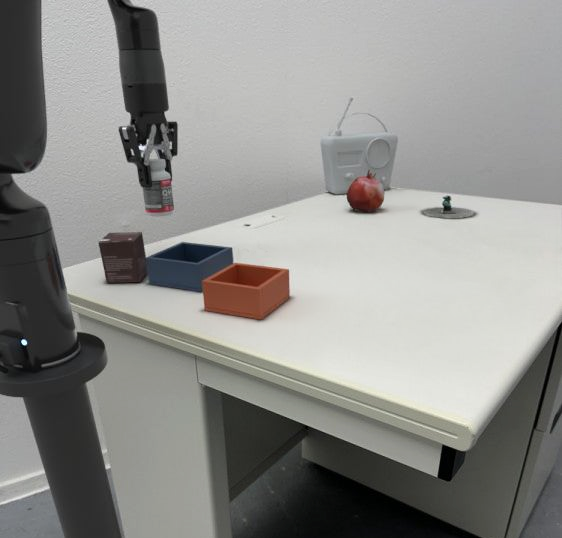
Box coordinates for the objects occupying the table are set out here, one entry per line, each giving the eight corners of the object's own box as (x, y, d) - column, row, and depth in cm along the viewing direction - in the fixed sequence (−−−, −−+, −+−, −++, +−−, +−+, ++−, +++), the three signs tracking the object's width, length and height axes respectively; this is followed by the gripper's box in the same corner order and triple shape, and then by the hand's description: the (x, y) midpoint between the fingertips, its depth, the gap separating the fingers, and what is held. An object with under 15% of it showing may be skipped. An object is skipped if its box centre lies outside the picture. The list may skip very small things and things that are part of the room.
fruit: (340, 208, 141) (341, 167, 136) (374, 205, 143) (376, 165, 138) (354, 216, 133) (355, 173, 128) (389, 212, 135) (392, 170, 130)
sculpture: (413, 212, 137) (432, 185, 136) (434, 233, 141) (453, 207, 140) (442, 218, 126) (463, 189, 125) (464, 241, 131) (485, 213, 130)
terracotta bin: (261, 319, 78) (259, 289, 76) (204, 310, 82) (201, 280, 79) (289, 297, 85) (289, 269, 83) (236, 289, 89) (234, 262, 87)
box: (149, 272, 99) (143, 231, 95) (140, 283, 93) (133, 240, 90) (116, 272, 99) (108, 232, 95) (105, 283, 94) (97, 241, 90)
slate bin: (201, 292, 89) (198, 264, 86) (149, 284, 93) (145, 257, 91) (234, 272, 97) (232, 247, 95) (185, 266, 101) (182, 241, 99)
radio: (330, 197, 155) (331, 98, 143) (318, 192, 162) (319, 97, 150) (398, 190, 161) (405, 95, 149) (384, 185, 168) (390, 94, 156)
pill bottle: (171, 217, 101) (164, 161, 97) (142, 217, 102) (135, 161, 97) (177, 211, 106) (171, 157, 101) (150, 211, 106) (143, 158, 102)
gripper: (152, 81, 100) (163, 178, 108) (97, 82, 89) (114, 189, 97) (186, 80, 97) (195, 179, 105) (133, 81, 86) (148, 192, 94)
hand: (156, 184), depth 101 cm, fingers closed on pill bottle, 5 cm apart
